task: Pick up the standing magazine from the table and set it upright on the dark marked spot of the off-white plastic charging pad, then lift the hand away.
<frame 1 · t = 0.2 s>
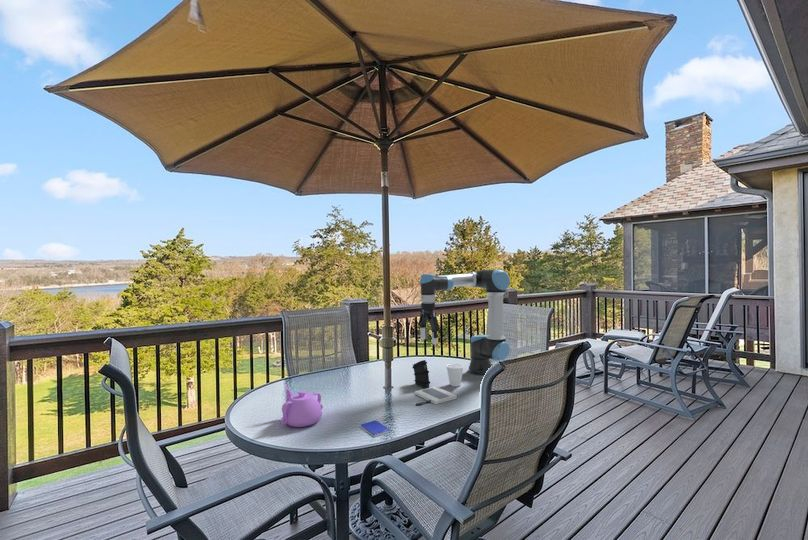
hand: (428, 341, 213), 27 cm above the table, tool pointing down, fingers open, 13 cm apart
hard drive: (375, 430, 169), on the table
cup: (455, 385, 225), on the table
charging pad: (435, 396, 207), on the table
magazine: (421, 385, 225), on the table
teapot: (299, 420, 179), on the table
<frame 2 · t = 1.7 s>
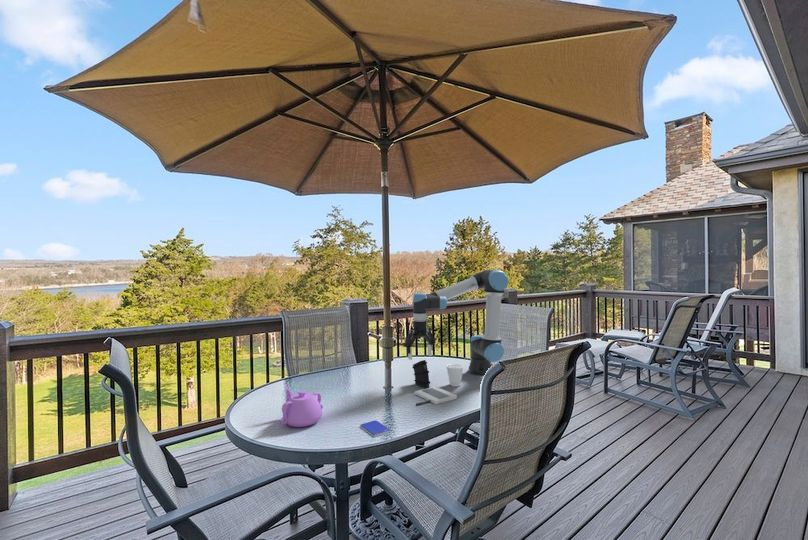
hand: (420, 357, 225), 16 cm above the table, tool pointing down, fingers open, 13 cm apart
nothing on the table moved.
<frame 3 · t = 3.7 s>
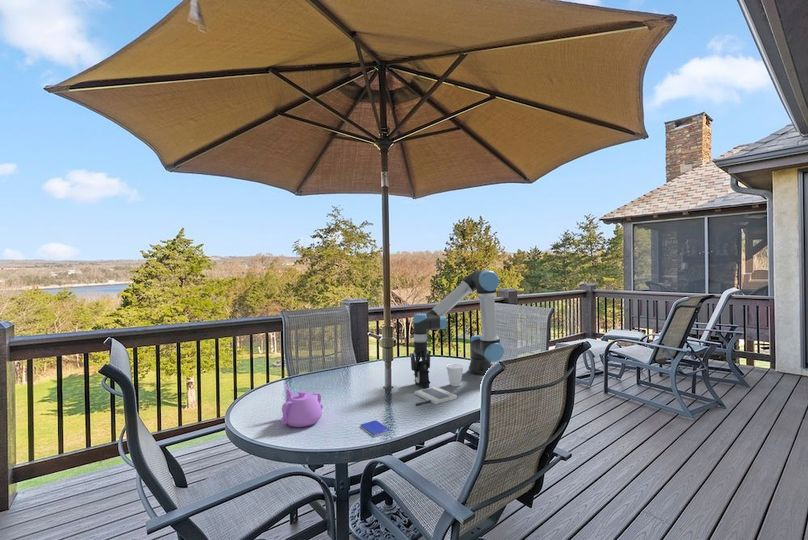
hand: (421, 381, 225), 2 cm above the table, tool pointing down, fingers closed on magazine, 4 cm apart
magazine: (421, 385, 225), on the table, touching gripper
everything else where it was.
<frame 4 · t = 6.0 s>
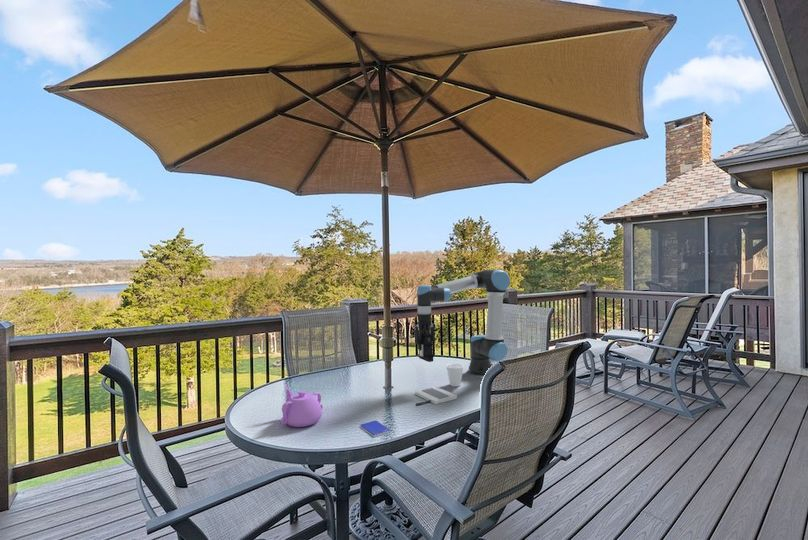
hand: (424, 355, 218), 19 cm above the table, tool pointing down, fingers closed on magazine, 4 cm apart
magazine: (424, 359, 218), point 16 cm above the table, touching gripper
everything else where it was.
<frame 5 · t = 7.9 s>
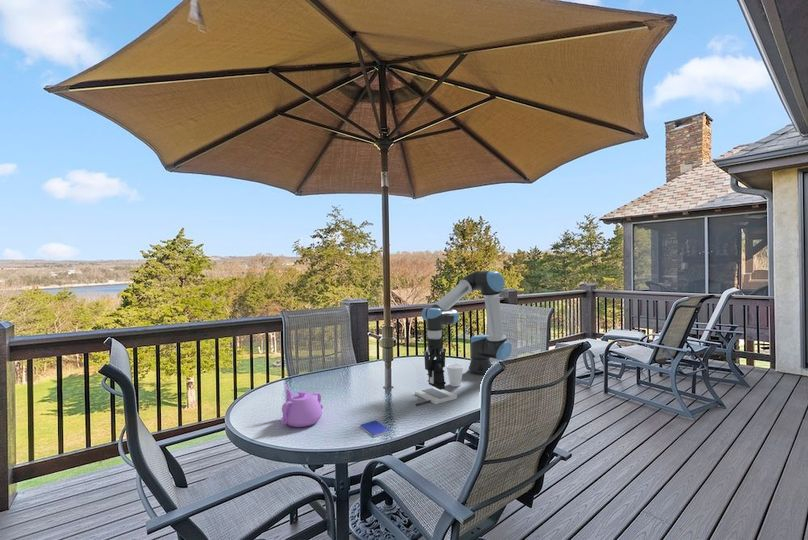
hand: (435, 382, 207), 8 cm above the table, tool pointing down, fingers closed on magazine, 4 cm apart
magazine: (435, 386, 207), point 5 cm above the table, touching gripper
everything else where it was.
when the fingers open (5 cm above the table, at t = 8.5 s): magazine drops 1 cm, resting on charging pad.
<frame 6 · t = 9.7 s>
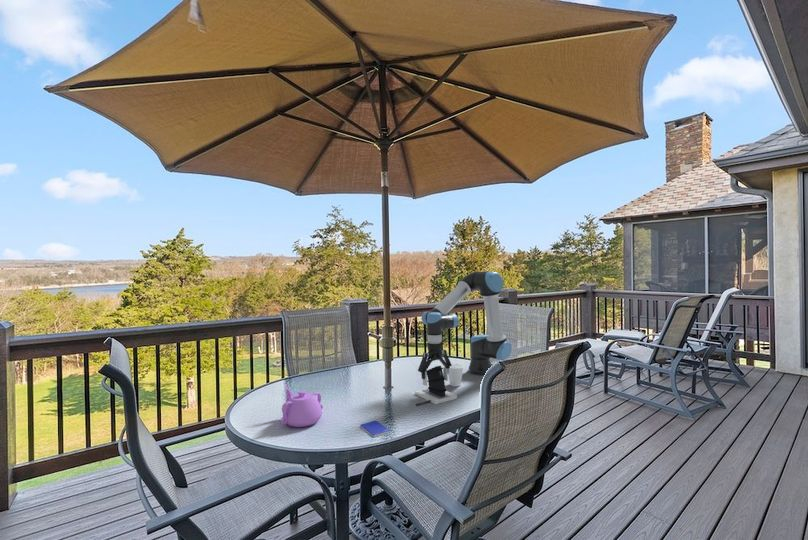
hand: (435, 382, 207), 7 cm above the table, tool pointing down, fingers open, 13 cm apart
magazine: (435, 393, 207), point 1 cm above the table, touching charging pad
everything else where it was.
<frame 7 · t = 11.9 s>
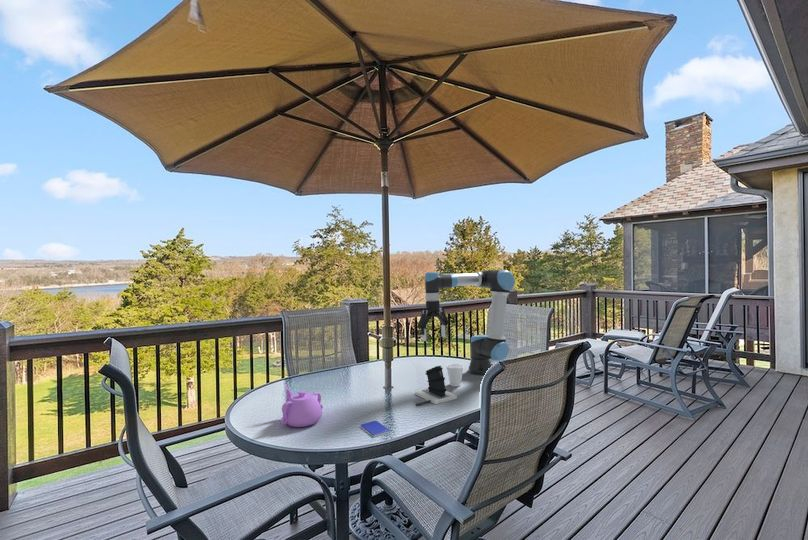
hand: (434, 338, 217), 28 cm above the table, tool pointing down, fingers open, 13 cm apart
nothing on the table moved.
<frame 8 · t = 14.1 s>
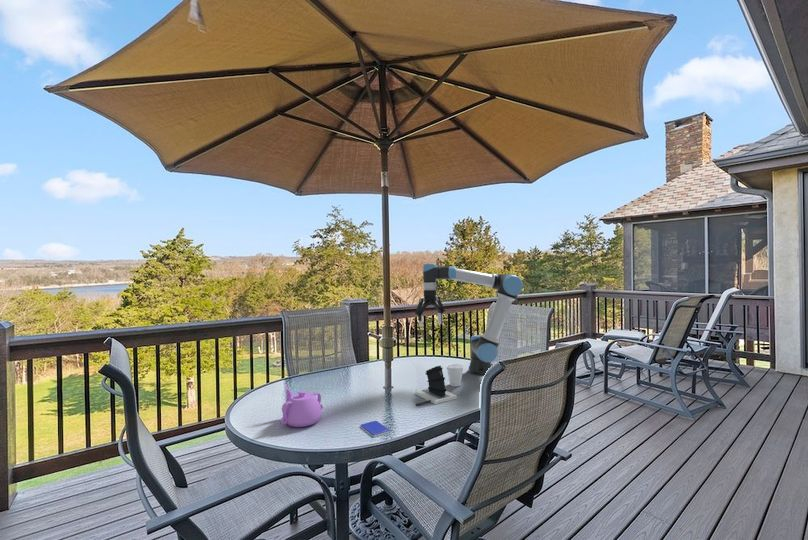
hand: (430, 325, 235), 33 cm above the table, tool pointing down, fingers open, 13 cm apart
nothing on the table moved.
at the end: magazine inside the target area on the charging pad (0.1 cm from its centre), point 1.4 cm above the charging pad's base; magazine tilted 1°; the gripper is holding nothing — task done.
